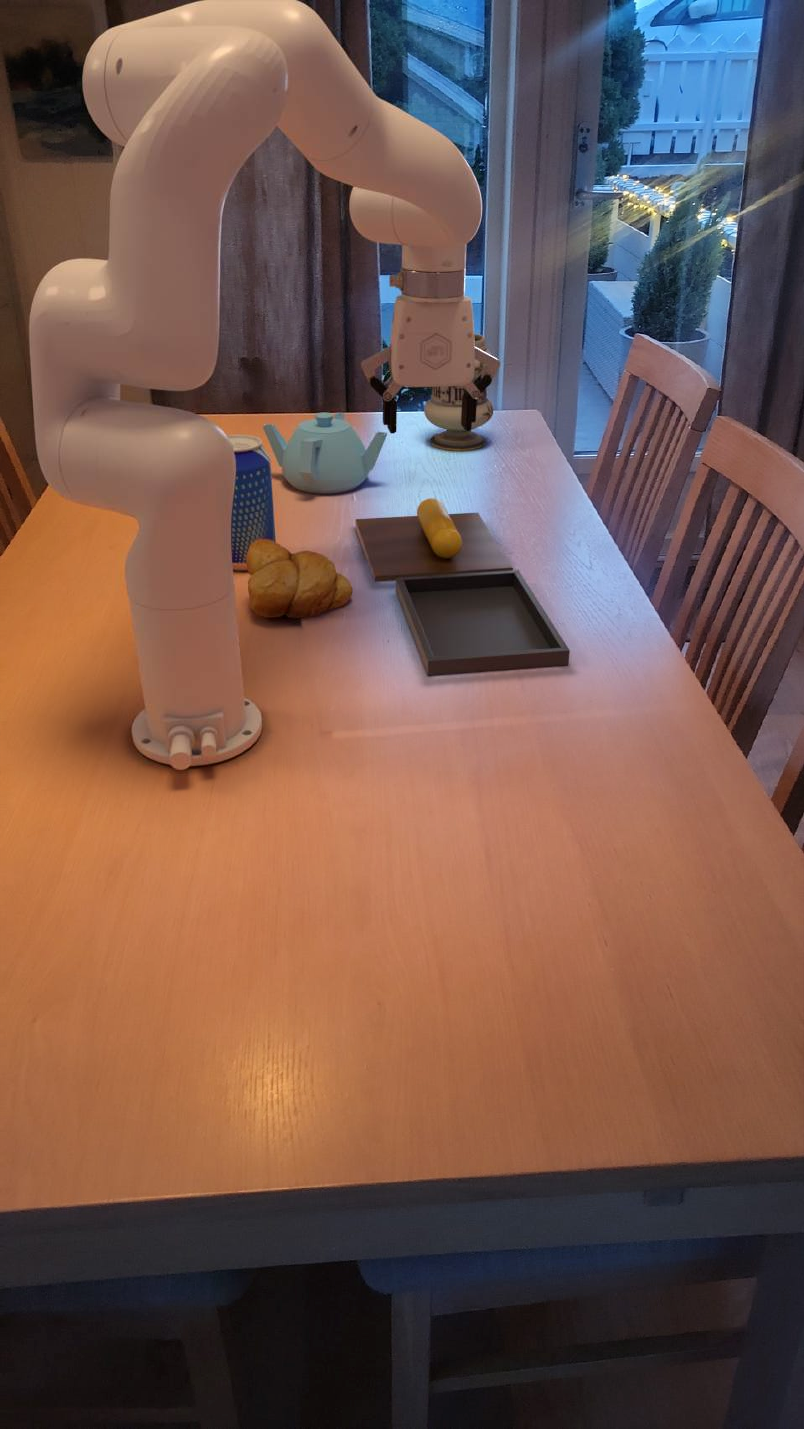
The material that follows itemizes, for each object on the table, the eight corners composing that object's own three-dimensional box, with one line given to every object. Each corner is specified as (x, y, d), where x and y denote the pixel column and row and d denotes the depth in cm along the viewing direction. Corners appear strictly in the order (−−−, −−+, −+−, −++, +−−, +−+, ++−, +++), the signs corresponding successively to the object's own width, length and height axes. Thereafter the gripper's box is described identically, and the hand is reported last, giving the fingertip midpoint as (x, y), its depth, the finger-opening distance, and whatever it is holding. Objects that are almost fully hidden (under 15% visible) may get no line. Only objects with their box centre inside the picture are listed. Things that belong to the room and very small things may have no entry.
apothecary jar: (417, 434, 186) (419, 330, 177) (482, 431, 188) (486, 328, 179) (431, 454, 176) (433, 346, 167) (499, 451, 178) (505, 343, 169)
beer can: (217, 576, 133) (205, 454, 125) (210, 551, 140) (198, 434, 131) (281, 569, 135) (274, 449, 126) (271, 545, 142) (263, 430, 133)
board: (512, 578, 133) (513, 567, 132) (374, 587, 130) (374, 576, 130) (477, 522, 150) (478, 512, 149) (355, 528, 147) (355, 519, 146)
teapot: (261, 475, 167) (257, 409, 161) (343, 460, 173) (341, 396, 168) (305, 504, 156) (301, 433, 150) (389, 487, 162) (389, 418, 157)
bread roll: (355, 593, 129) (353, 533, 125) (349, 628, 121) (347, 565, 116) (252, 591, 129) (248, 531, 125) (240, 626, 121) (234, 563, 117)
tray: (567, 671, 112) (570, 650, 111) (427, 682, 110) (428, 661, 109) (517, 588, 130) (518, 569, 129) (395, 596, 128) (396, 577, 127)
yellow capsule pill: (454, 568, 134) (471, 543, 132) (428, 554, 132) (445, 529, 131) (432, 526, 146) (447, 502, 145) (409, 513, 145) (424, 489, 143)
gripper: (364, 290, 117) (365, 440, 126) (512, 289, 120) (502, 435, 128) (356, 281, 124) (357, 423, 132) (496, 279, 126) (488, 419, 135)
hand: (429, 429), depth 130 cm, fingers open, 9 cm apart
